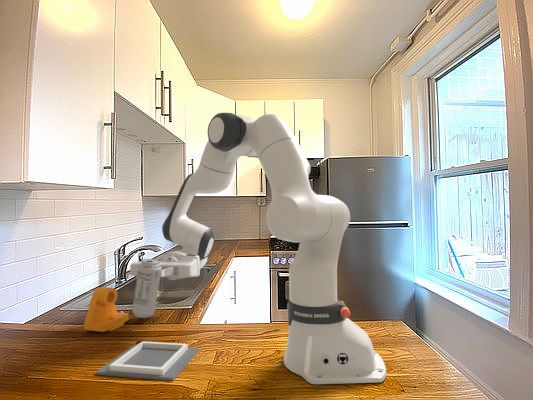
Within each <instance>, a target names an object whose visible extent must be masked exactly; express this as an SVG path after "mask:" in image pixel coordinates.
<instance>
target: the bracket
mask: <svg viewBox="0 0 533 400" xmlns="http://www.w3.org/2000/svg"><path fill="white" fill-rule="evenodd" d="M117 299H118V290H117V289H116V288H114V287H103V286H101V287H97V288H96V289H95V290H94V291H93V293H92V295H91V299H90V303H89V306H88V308H87V312H86V316H85V319H84V323H83V330H86V331H93V332H102V333H104V332H113V331H114V330H117V329H118V328H120V327H122V326H124V325H125V323H126V322H128V321H129V318H130V317H129V312H128V313H127V312H126V313H125V312H118V311H117V308H116V301H117Z"/></svg>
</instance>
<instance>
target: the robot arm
mask: <svg viewBox="0 0 533 400" xmlns="http://www.w3.org/2000/svg"><path fill="white" fill-rule="evenodd" d="M207 137H208V140H207V142H206V144H205V146H204V149H203V152H202V155H201V158H200V162H199V164H198V168H197V169H196V170H195V171H194V172H193V173H192V172H191V173H190V174H188V175H187V176H186V178H185V179H184V181H183V182H182V185H181V187H180V188H179V192H178V193H177V196H176V197H175V200H174V203H173V205H172V207H171V210H170V211H169V213H168V215H167V217H166V219H165V220H164V221H163V224H162V226H161V231H162V235H163V238H164V240H166V241H169V242H170V243H173V244H176V245H179V246H180V247H182V248H181V249H178V250H174V251H169V252H166V253H165V254H164V255H163V257H162V258H161V260H159V261H160V265H161V270H158V271H157V277H160V278H164V277H165V278H166V279H168V280H170V281H177V280H179V279H184V278H196V277H200V274H201V273H200V272H201V269H203V267H204V266H206V263H207V262H208V258H209V257H210V255H211V252H213V249H214V246H215V243H216V242H215V241H216V239H215V234H214V231H213V229H212V228H210V227H208V226H206V225H204V224H202V223H199V222H198V221H195V220H193V219H191V218H189V217H188V215H187V212H188V211H189V208H190V205H191V203H192V201H193V199H194V198H195V196H196V194H208V195H210V194H211V195H212V194H217V193H220V192H221V193H222V192H223V191H225V190H226V189H227V188H228V187H229V186H230V184H231V181H232V179H233V175H234V173H235V170H236V169H235V168H236V164H237V161H238V159H239V158H240V157H248V158H256V159H257V158H258V160H259V162H260V164H261V167H262V169H263V172H264V173H265V176H266V179H267V181H268V184H269V187H270V191H271V201H270V203H269V205H268V207H267V210H266V217H265V220H266V226H267V228H268V231H269V232H270V233H271V235H272V236H273V237H275V238H276V239H278V240H281V241H285V242H289V243H290V242H291V243H295V244H296V243H299V246H298V249H297V252H296V254H295V256H294V258H293V259H292V261H291V262H290V263H289V268H288V283H289V284H288V285H289V289H288V290H289V298H288V301H287V304H286V305H287V306H286V307H287V309H286V313H287V314H286V315H287V316H286V317H287V324H288V335H287V343H286V348H285V353H284V355H283V356H284V357H283V364H284V366H285V367H286V368H287V369H288V370H289V371H290V372H292V373H294V374H295V375H299V376H300V377H302V378H303V379H304V380H305V381H306V382H307V383H309V384H312V385H332V384H333V385H335V384H338V385H340V384H367V383H368V384H369V383H372V384H373V383H383V381H385V380H386V378H387V368H386V365H385V362H384V360H383V358H382V357H381V355H380V354H379V353H378V352H377V351H375V350H374V347H373V346H374V345H373V343H372V341H371V339H370V337H369V336H370V335H368V333H367V332H366V331H365V330H364V329H362V328H361V327H360V326H358V324H356V323H355V322H353V321H352V320H351V319H350V317H351V312H350V309H349V308H348V307H347V304H346V303H345V302H344V301H343V300H339V299H338V262H339V256H340V251H341V248H342V247H341V246H342V242H343V241H342V240H343V237H344V235H345V232H346V230H347V229H348V227H349V225H350V222H351V213H350V210H349V207H348V206H347V204H346V203H344V202H343V200H341V199H339V198H336V197H334V196H332V195H327V194H326V195H325V194H317V193H316V192H315V191H314V190H313V189H312V187H311V184H310V179H309V176H310V173H311V164H310V162H309V161H308V159H307V157H306V155H305V153H304V151H303V149H302V147H301V145H300V144H299V142H298V140H297V138H296V136H295V135H294V133H293V131H292V130H291V129H290V127H289V126H288V125H287V124H286V122H285V121H284V120H283V119H282V117H280V116H279V115H277V114H274V113H267V114H263V115H261V116H260V117H258V118H257V119H254V118H251V117H249V116H245V115H240V114H235V113H233V112H218V113H216V114H215V115H213V117H211V119H210V121H209V123H208V127H207ZM141 262H142V260H141V261H137V262H132V263H131V264H130V267H129V271H130V275H131V276H135V277H137V274H138V267H139V265H140V264H141Z"/></svg>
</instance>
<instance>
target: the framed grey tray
mask: <svg viewBox="0 0 533 400" xmlns="http://www.w3.org/2000/svg"><path fill="white" fill-rule="evenodd" d="M199 351H200V348H199V347H198V348H197V347H189V343H180V342H178V343H176V342H159V341H141V342H140V343H137V344H132V345H131V346H130V347H129V348H128V349H126V350H124V351H122V353H120V354H119V355H117V356H115V358H113V359H112V360H110V361H109V362H108V363H106V364H104V365H103V366H102V367H101V368H99V369H98V370H96V372H95V375H98V376H99V375H100V376H108V377H109V376H111V377H123V378H134V379H146V380H156V381H158V380H160V381H170V382H174V380H175V379H176V378H177V377H178V376H179V375H180V374H181V373H182V371H183V370H184V369H185V368H186V367H187V366H188V364H189V363H190V362H191V361H192V360H193V358H194V357H195V356H196V355H197V354H198V353H197V352H199ZM196 353H197V354H196ZM195 354H196V355H195ZM194 355H195V356H194ZM191 359H192V360H191ZM190 360H191V361H190ZM185 366H186V367H185Z"/></svg>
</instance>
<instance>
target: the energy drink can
mask: <svg viewBox="0 0 533 400" xmlns="http://www.w3.org/2000/svg"><path fill="white" fill-rule="evenodd" d="M141 261H142V262H141V264H140V265H139V267H138V274H137V276H136V280H135V281H136V282H135V289H134V297H133V301H132V302H133V303H132V309H131V312H132V313H133V315H134V316H135V317H136V318H139V319H140V318H142V319H144V318H150V317H152V316H153V314H154V313H155V312H156V307H157V301H158V293H159V287H160V281H161V280H160V279H161V277H157V271H158V270H161V265H160V261H161V260H160V261H159V260H158V259H155V258H144V259H142V260H141Z"/></svg>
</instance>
